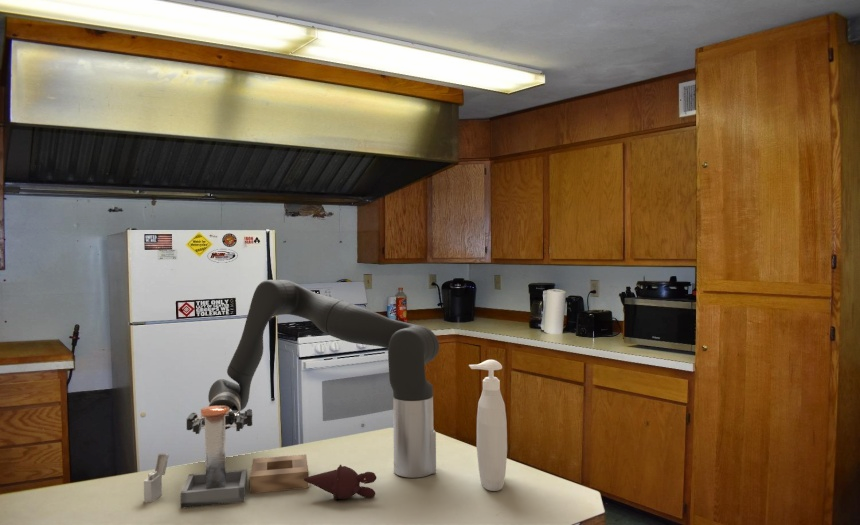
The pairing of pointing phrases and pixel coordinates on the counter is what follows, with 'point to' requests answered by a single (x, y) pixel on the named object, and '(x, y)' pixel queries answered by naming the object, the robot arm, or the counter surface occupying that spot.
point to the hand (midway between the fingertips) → (217, 428)
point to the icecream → (344, 482)
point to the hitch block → (278, 473)
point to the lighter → (155, 479)
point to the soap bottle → (491, 429)
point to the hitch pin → (215, 446)
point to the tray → (214, 490)
